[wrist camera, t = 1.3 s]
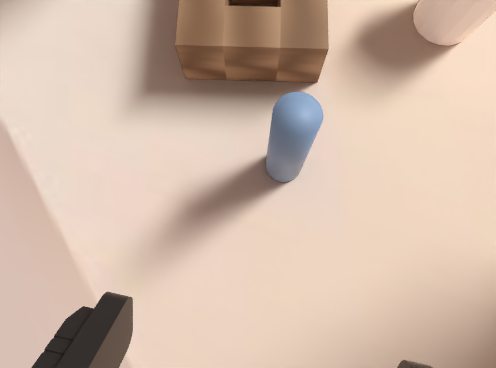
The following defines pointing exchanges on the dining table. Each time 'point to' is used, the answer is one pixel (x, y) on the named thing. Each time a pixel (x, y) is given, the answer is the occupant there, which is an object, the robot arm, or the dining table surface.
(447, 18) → the white cup
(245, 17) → the hole block
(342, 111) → the dining table surface
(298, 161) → the peg
